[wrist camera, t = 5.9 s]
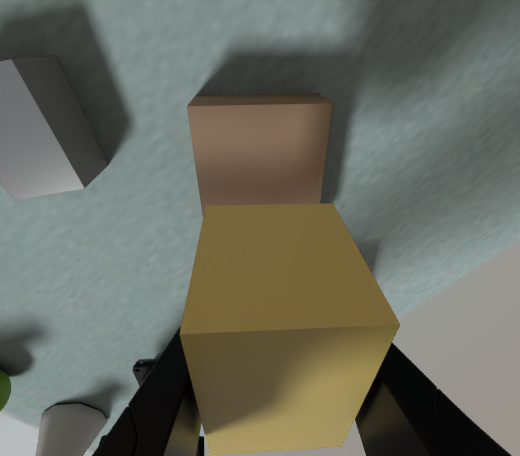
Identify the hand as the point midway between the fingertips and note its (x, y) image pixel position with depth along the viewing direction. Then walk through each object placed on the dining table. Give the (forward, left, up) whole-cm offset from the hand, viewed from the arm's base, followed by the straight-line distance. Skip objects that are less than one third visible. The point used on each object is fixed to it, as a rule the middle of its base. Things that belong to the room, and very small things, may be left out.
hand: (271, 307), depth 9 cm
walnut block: (0, 0, -12) cm, 12 cm away
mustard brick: (0, 0, -2) cm, 2 cm away
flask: (-33, +23, -12) cm, 42 cm away
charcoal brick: (+3, +12, -12) cm, 17 cm away
